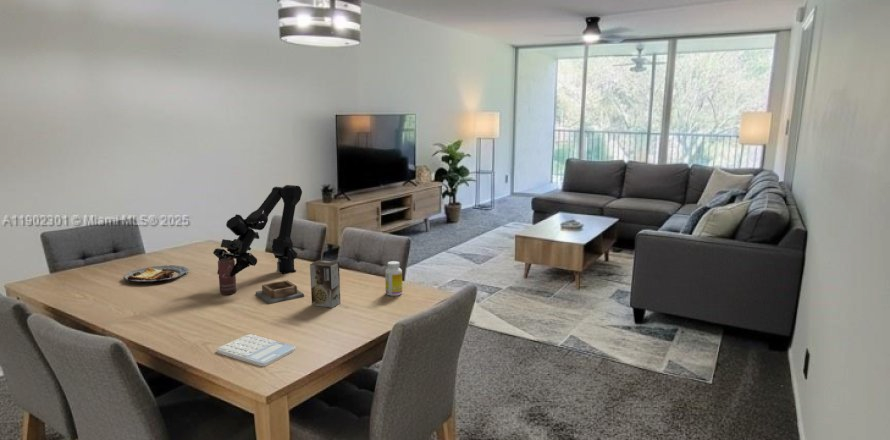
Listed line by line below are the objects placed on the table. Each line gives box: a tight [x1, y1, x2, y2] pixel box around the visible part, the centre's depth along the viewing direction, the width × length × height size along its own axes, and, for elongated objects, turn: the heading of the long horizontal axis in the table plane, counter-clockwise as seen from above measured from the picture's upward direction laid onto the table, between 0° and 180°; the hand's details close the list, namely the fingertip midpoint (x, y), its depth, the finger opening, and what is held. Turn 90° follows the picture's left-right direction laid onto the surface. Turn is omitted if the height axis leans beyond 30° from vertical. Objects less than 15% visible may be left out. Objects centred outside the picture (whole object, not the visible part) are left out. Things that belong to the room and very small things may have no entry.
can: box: [217, 257, 237, 296], centre depth 213 cm, size 6×6×14 cm
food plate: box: [123, 264, 190, 283], centre depth 233 cm, size 25×23×4 cm
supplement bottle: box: [384, 260, 403, 297], centre depth 214 cm, size 7×7×13 cm
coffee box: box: [309, 259, 341, 309], centre depth 201 cm, size 9×6×16 cm
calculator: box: [216, 333, 297, 367], centre depth 162 cm, size 13×20×2 cm, turn 62°
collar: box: [255, 279, 305, 305], centre depth 211 cm, size 14×14×4 cm
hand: (224, 275), depth 211 cm, fingers open, 6 cm apart
